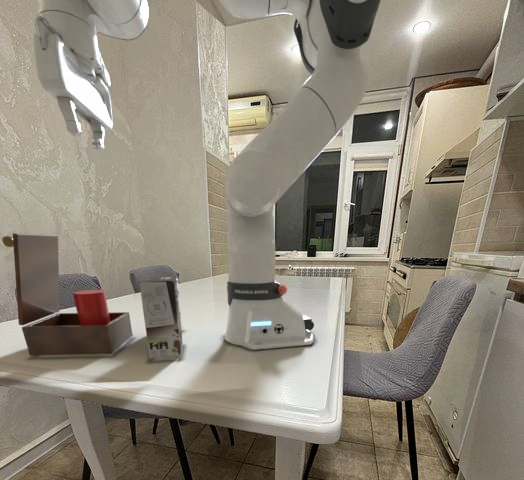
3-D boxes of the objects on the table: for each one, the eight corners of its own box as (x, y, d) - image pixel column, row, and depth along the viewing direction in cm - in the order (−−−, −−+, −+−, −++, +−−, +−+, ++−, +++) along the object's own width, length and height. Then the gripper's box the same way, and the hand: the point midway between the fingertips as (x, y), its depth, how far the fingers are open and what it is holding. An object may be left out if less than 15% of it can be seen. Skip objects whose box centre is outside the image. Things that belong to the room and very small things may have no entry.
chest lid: (58, 235, 64) (32, 230, 63) (17, 234, 52) (-16, 227, 52) (59, 311, 70) (35, 307, 69) (22, 325, 58) (-7, 320, 57)
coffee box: (182, 359, 60) (174, 280, 54) (149, 362, 59) (137, 281, 53) (183, 345, 68) (177, 275, 63) (155, 347, 67) (145, 276, 62)
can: (118, 339, 70) (109, 289, 66) (107, 348, 64) (97, 293, 60) (92, 340, 69) (81, 289, 65) (79, 348, 64) (66, 294, 60)
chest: (133, 338, 73) (129, 312, 71) (112, 356, 62) (106, 325, 59) (64, 339, 72) (58, 313, 70) (30, 358, 60) (21, 327, 58)
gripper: (56, 7, 42) (76, 122, 47) (113, 81, 62) (123, 157, 66) (10, 5, 42) (35, 120, 47) (82, 79, 61) (95, 156, 66)
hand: (87, 142), depth 57 cm, fingers open, 8 cm apart
